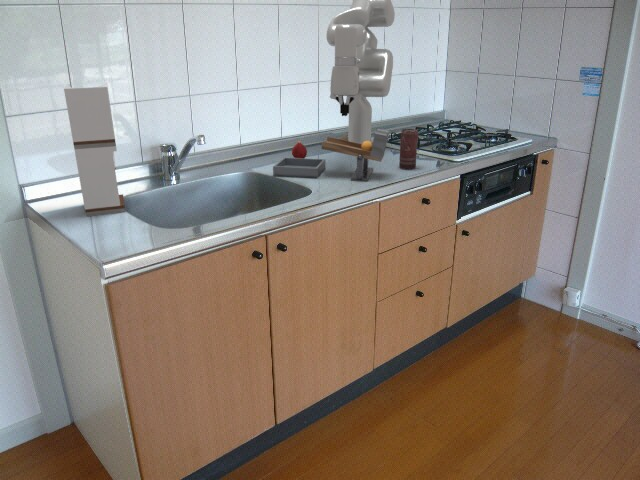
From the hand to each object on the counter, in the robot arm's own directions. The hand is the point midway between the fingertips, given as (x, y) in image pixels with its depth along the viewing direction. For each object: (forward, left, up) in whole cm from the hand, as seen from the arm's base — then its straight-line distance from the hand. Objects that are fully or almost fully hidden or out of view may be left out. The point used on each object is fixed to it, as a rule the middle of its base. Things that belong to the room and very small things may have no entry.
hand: (344, 115), depth 198 cm
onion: (-6, -19, -19) cm, 27 cm away
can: (-4, +23, -19) cm, 31 cm away
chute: (+6, +5, -11) cm, 14 cm away
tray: (+10, -14, -19) cm, 26 cm away
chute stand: (+10, +8, -19) cm, 23 cm away
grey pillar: (+61, -61, -19) cm, 88 cm away
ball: (+10, +10, -9) cm, 17 cm away
